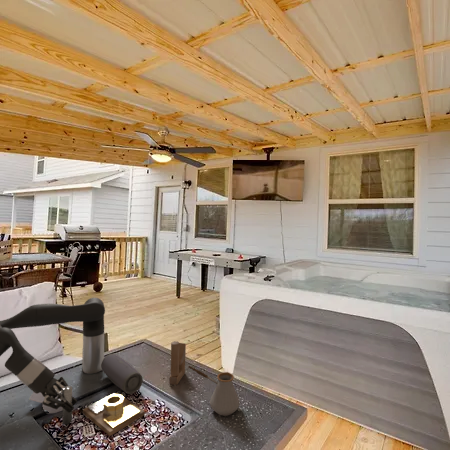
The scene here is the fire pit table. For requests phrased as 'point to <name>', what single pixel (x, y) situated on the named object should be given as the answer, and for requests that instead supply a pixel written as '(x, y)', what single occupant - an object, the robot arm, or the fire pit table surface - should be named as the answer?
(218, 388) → the coffee pot
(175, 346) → the wooden block
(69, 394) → the pin
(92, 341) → the robot arm
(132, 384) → the bluetooth speaker
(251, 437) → the fire pit table surface
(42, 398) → the wedge on round base
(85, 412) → the board
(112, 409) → the hinge
